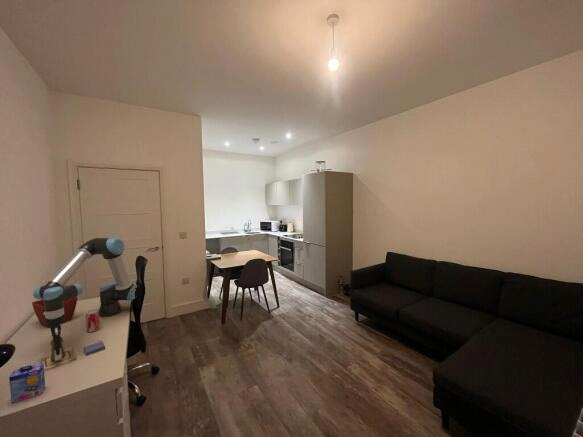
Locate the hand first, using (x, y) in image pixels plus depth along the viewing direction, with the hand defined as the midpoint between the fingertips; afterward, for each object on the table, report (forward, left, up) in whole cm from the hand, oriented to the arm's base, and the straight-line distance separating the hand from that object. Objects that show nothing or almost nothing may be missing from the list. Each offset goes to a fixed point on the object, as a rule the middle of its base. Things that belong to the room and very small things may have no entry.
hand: (57, 357), depth 135 cm
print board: (0, 0, -2) cm, 2 cm away
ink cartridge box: (+11, +24, -2) cm, 27 cm away
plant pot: (-3, -61, -2) cm, 61 cm away
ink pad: (-15, +2, -2) cm, 16 cm away
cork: (0, 0, 0) cm, 0 cm away
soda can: (-19, -26, -2) cm, 32 cm away
